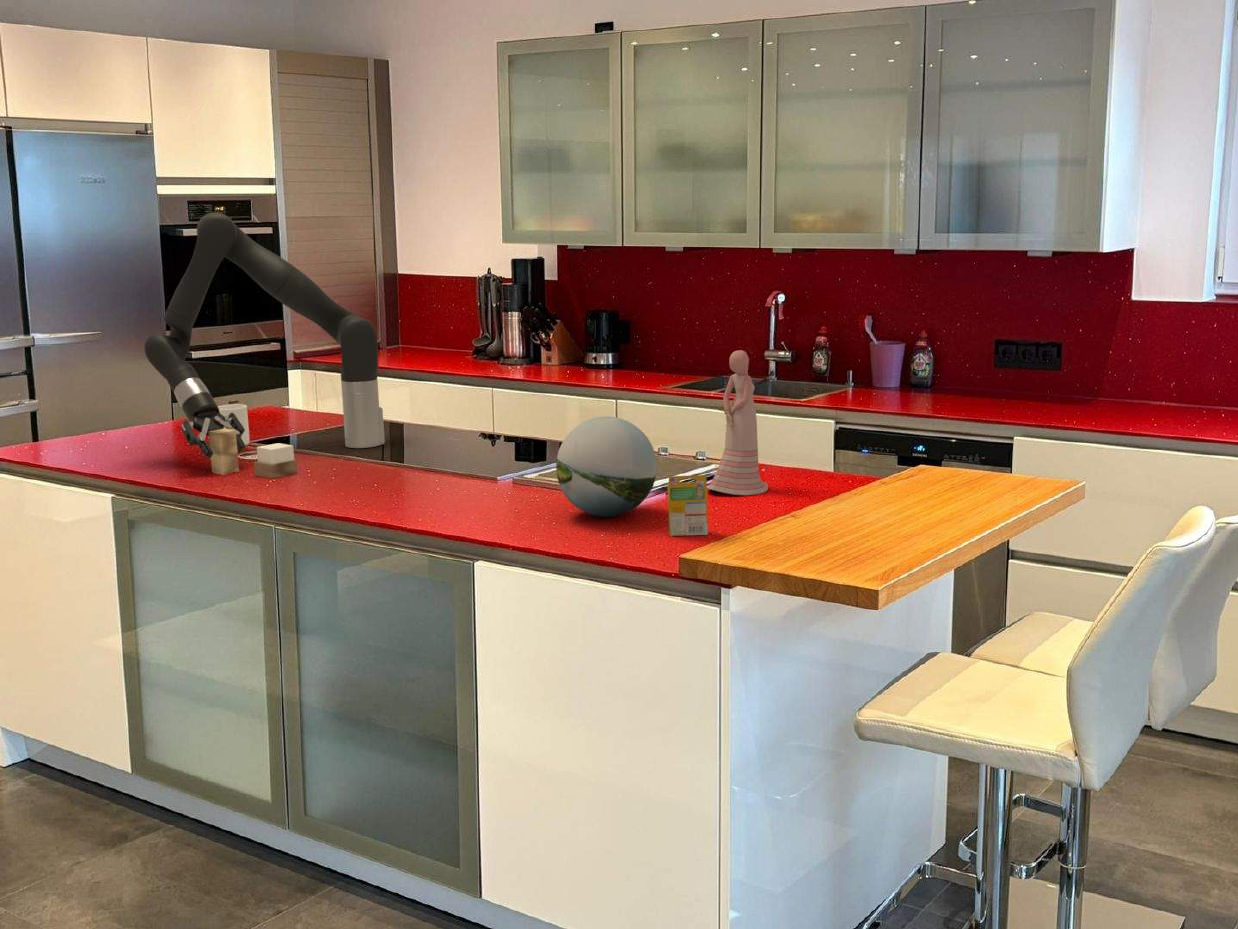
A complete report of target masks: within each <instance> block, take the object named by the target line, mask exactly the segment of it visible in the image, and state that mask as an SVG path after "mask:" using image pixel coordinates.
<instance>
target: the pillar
mask: <svg viewBox="0 0 1238 929" xmlns="http://www.w3.org/2000/svg"><path fill="white" fill-rule="evenodd" d="M208 432H209V438H208V441H209V442H208V444H209V446H210V448H211V449H212V451H213V455H212V457H211V458H210V464H211V473H212V472H213V474H217V475H222V476H225V475H230V474H234V473H233V472H235V473H239V472H240V467H239V454H238V453H239V452H238V450H237V440H236V430H230V429H220V430H214V431H208ZM229 473H230V474H229Z"/></svg>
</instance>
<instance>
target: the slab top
mask: <svg viewBox="0 0 1238 929" xmlns="http://www.w3.org/2000/svg"><path fill="white" fill-rule="evenodd" d="M294 451H295V450H294V445H292V444H287V443H281V442H280V443H279V442H278V443H277V442H276V443H272V444H267V445H262V446H257V447H256V454H257V455H256V456H257V461H258V462H262V463H267V464H272V465H273V464H278V463H283V462H288V461H293V460H295V452H294Z"/></svg>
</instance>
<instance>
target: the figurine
mask: <svg viewBox="0 0 1238 929" xmlns="http://www.w3.org/2000/svg"><path fill="white" fill-rule="evenodd" d="M749 363H750V358H749V356H748V354H747V352H746V351H745V350H742V349H741V350H735V351H733V352H732V353H731V354H730V356H729V364H728V365H729V368H730V370H731V371H732V372H733V374H732V375H730V377H729V380H728V383H727V385H726V388H725V389H724V390H725V391H724V394H723V405H724V409H723V412H724V415H725V421H726V424H725V436H724V438H725V439H724V449H723V453H722V455H721V458H720V461H719V463H718V466H717V470H716V472H715V474H714V475H713V478H712V479H711V482H710V483H709V485H708V486H707V490H710V491H711V490H712V491H715V492H719V493H723V494H728V495H733V496H756V495H761V494H764V493H766V492H768V490H769V484H767V483H766V482H765V481H763V480H762V479H761V476H760V472H759V470H760V469H759V448H758V441H759V440H758V422H757V419H758V418H757V411H756V405H755V401H754V391H755V385H754V383H753V380H752V377H751V376H750V375H749V372H748V370H749ZM733 388H734V390H735V395H734V399H733V401H732V403H731V405H730V396H731V393H732V391H733Z"/></svg>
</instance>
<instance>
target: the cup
mask: <svg viewBox="0 0 1238 929" xmlns="http://www.w3.org/2000/svg"><path fill="white" fill-rule="evenodd" d="M217 406H218V408H219V412H220V414H221V415H223V416H228V415H230V413H234V414H235V416H236V417H237V419H238V420H239V422H240V423H241V424H242V426H243V427H244V429H245V431H244V433H243V434H242V436H241V439H242V440H243V442H244V444H245V447H246V446H248V445H249V444H250V442H251V441H250V431H249V419H248V418H249V417H248V406H247V405H246V404H238V403H237V404H235V403H234V404H224V405H217ZM226 423H227V422H226ZM224 429H226V428H225V427H224ZM207 438H208V439H209V437H208V436H207Z"/></svg>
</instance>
